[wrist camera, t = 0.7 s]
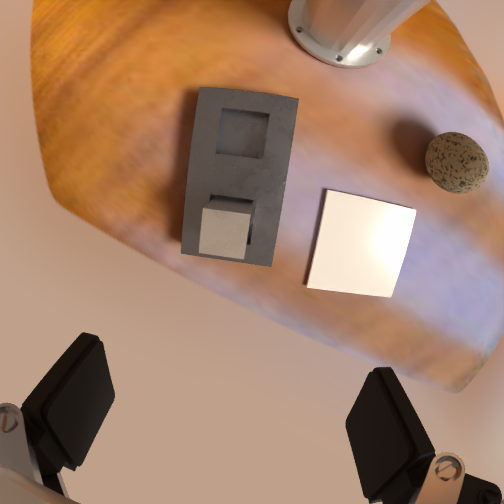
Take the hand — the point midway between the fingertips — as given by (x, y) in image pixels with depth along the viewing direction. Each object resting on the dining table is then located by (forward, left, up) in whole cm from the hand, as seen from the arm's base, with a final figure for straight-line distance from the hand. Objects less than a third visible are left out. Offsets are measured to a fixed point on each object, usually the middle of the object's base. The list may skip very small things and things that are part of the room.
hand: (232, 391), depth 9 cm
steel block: (0, -2, -25) cm, 25 cm away
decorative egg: (-12, +22, -25) cm, 35 cm away
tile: (+1, +14, -25) cm, 29 cm away
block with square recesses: (-5, -2, -25) cm, 26 cm away
